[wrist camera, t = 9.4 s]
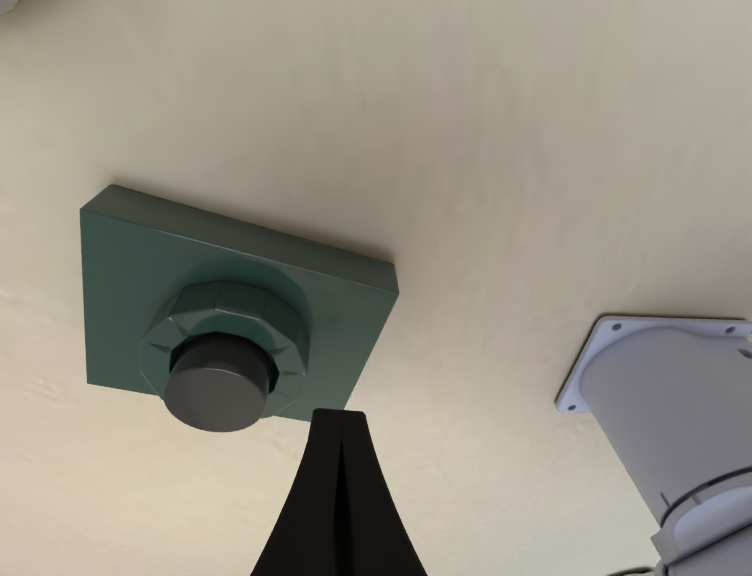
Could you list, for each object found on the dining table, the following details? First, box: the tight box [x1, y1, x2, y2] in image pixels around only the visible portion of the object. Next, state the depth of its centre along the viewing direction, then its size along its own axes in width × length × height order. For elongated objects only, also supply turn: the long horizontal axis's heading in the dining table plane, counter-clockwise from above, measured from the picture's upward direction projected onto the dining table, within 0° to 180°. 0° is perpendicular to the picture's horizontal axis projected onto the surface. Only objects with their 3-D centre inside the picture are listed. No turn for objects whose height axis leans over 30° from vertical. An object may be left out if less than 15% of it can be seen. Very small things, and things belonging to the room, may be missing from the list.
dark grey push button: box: [163, 333, 273, 432], centre depth 18 cm, size 4×4×2 cm
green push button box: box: [80, 185, 399, 422], centre depth 20 cm, size 13×10×4 cm
